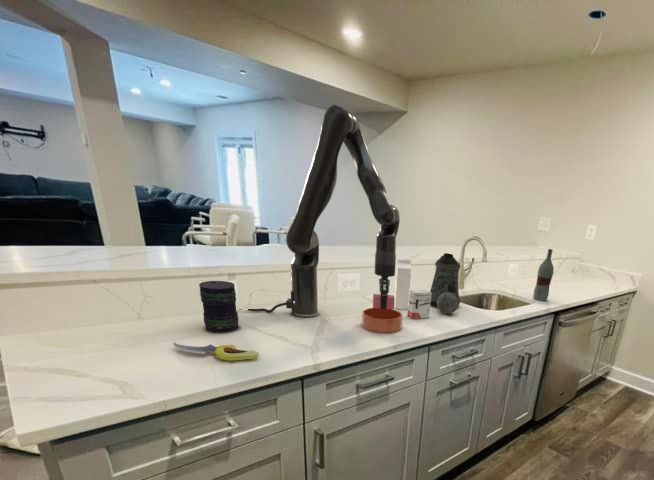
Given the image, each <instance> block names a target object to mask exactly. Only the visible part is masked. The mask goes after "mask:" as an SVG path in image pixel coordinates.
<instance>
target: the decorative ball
mask: <svg viewBox="0 0 654 480" xmlns="http://www.w3.org/2000/svg"><path fill="white" fill-rule="evenodd" d="M437 307H438V308H437V309H438V310H439V312H441V313H442V314H444V315H451V314H453V313H454V312H456V311H457V310H458V308H459V306H458V299H457V297H456V296H455V295H454V294H452V293H449V292H446V293H443V294H441V295H440V296H439V297H438V299H437ZM457 307H458V308H457Z"/></svg>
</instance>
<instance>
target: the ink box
mask: <svg viewBox="0 0 654 480" xmlns="http://www.w3.org/2000/svg"><path fill="white" fill-rule="evenodd" d="M431 294H432V293H431V292H430V291H429V290H428V289H425V288H423V289H421V288H420V289H419V288H418V289H417V288H416V289H410V290H409V303H408V309H407V316H408V317H409V318H410V319H413V320H414V319H429V318H430V311H431V306H430V303H431Z"/></svg>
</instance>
